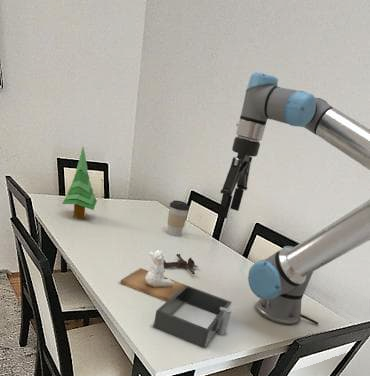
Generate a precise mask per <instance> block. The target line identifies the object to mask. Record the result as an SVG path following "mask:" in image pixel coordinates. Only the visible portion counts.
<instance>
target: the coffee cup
mask: <svg viewBox="0 0 370 376" xmlns="http://www.w3.org/2000/svg"><path fill="white" fill-rule="evenodd" d="M189 208H190V207H189V205H188V202H185V201H181V200H176V199H175V200H172V201H171V202H170V203H169V209H168V216H167V227H166V233H167V234H168V235H170V236H174V237H181V236H182V233H183V229H184V227H185V223H186V220H187V216H188V212H189Z"/></svg>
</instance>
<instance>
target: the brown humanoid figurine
mask: <svg viewBox="0 0 370 376" xmlns="http://www.w3.org/2000/svg"><path fill="white" fill-rule="evenodd" d="M175 255H176V257H177V258H178V260H177V261H166V259H165V260H164V263H163V265H164V269H165V268H175V267H176V268H177V267H179V268H185V269H187V270H188V271H189V272H190V274H191V275H193V276H194V275H196V271H195V269H194V270H193V268H198V265H196V264H195V261H194V260H193V259H192V257H189V258H187V259H188V260H187V261H186V260H185V259H184V258H182V256H181V253H176V254H175Z"/></svg>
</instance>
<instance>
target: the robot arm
mask: <svg viewBox="0 0 370 376" xmlns="http://www.w3.org/2000/svg"><path fill="white" fill-rule="evenodd" d="M278 83H279V79H278V78H277V77H276V76H274V75H270V74H266V73H262V72H253V73H251V75H250V77H249V80H248V84H247V87H246V89H245V95H244V99H243V103H242V109H241V113H240V116H239V120H238V122H236V124H235V125H236V133H235V134H236V135H237V136H235V137H234V140H233V143H232V148H231V150H232V151H233V152H234V153H236V154H237V155H236V157H235V156H233V157H232V159H231V164H230V167H229V170H228V172H227V174H226V175H227V176H226V178H225V181H224V183H223V186H222V189H220V192H219V193H220V194H221V195H222V197H221V200H220V205H219V209H218V213H217V217H220V218H223V219H228V215H229V211H230V210H233V211H236V212H238V211H239V210H240V207H241V203H242V199H243V196H244V192H245V191H247V190H248V183H249V175H250V169H251V164H252V161H253V158H254V157H257V156H258V154H259V150H260V148H261V147H260V146H261V143H260V141H262V140H263V136H264V134H265V129H266V127H267V126H266V125H267V121H268V120H271V121H275V122H279V123H283V124H287V125H289V126H291V127H300V128H304V129H306V130H308V131H309V132H311V133H312V134H314V135H316V136H317V137H319V138H321V139H322V140H323V141H325V142H327V143H328V144H329V145H331V146H333V148H336V149H337V150H338V151H340V152H341V153H343V154H345V155H346V156H347V157H349V158H350V159H352V160H354V161H355V162H357V163H358V164H360V165H361V166H363V167H364V168H366V169H367V170H369V171H370V129H369V127H367V126H365V125H363V124H362V123H360V122H359V121H357V120H355V119H353V118H352V117H350V116H348V115H347V114H345V113H344V112H342V111H341V110H339V109H337V108H336V107H333V106H332V105H330V103H329V102H327V100H325V99H323V98H320V97H316V96H315V95H314V94H312V93H309V92H308V91H304V90H296V89H292V88H285V87H281V86H278ZM367 242H370V198H369V199H368V200H366V201H364V202H363V203H362V204H360V205H359V206H357V207H355V208H353V209H352V210H351V211H349V212H347V213H346V214H344V215H343V216H341V217H339V218H338V219H337V220H335V221H333V222H332V223H330V224H328V225H327V226H325V227H324V228H322V229H321V230H319V231H317V232H316V233H314V234H313V235H311V236H309V237H308V238H307V239H305V240H303V241H301V242H300V243H299V244H297V245H295V246H291V245H285V246H283V248H281V249H279V250H278V251H276V252H275V253H273V254H272V255H270V256H268V257H267V258H265V259H260V260H257V261H256V262H254V263H253V264H252V265H251V266H250V268H249V270H248V276H247V283H248V286H249V288H250V290H251V292H252V293H253V294H254V295H255V296H256V297H257V298H259V299H258V301H257V303H256V311H257V312H258V313H259V315H261V316H262V317H264V318H266V319H267V320H269V321H272V322H274V323H278V324H282V325H295V324H297V323H298V322H299V320H300V318H302V319H305V320H307V321H309V322H311V323H313V324H315V325H319V322H318V321H316V320H314V319H312V318H310V317H308V316H306V315H305V314H302V299H303V297H304V294H305V292H306V290H307V287H308V285H309V283H310V280H311V278H312V275H313V273H314V272H315V271H316V270H319V269H320V268H322V267H324V266H325V265H328V264H329V263H332V262H333V261H335V260H337V259H338V258H340V257H342V256H343V255H346V254H347V253H350V252H351V251H353V250H355V249H357V248H358V247H360V246H362V245H363V244H366V243H367Z"/></svg>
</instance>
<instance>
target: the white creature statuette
mask: <svg viewBox="0 0 370 376" xmlns="http://www.w3.org/2000/svg"><path fill="white" fill-rule="evenodd" d="M148 254H149V256H150V259H151V261H152V264H151V265H150V266H149V270H148V271H149V272H148V273H147V275H146V277H145V280H146V283H147V284H148V285H150V286H153V287H172V286H173V285H174V283H173V282H172V281H171V280H172V279H171V278H169V279H164V277H165V275H164V273H165V272H166V269H165V268H164V265H163V263H164V260H165V261H166V259H165V256H164V254H163V251H162V250H161V249H156V250H154V251H149V253H148ZM170 279H171V280H170Z"/></svg>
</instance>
